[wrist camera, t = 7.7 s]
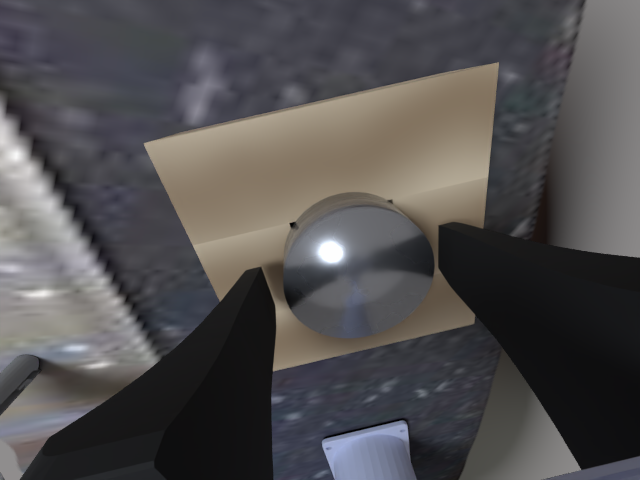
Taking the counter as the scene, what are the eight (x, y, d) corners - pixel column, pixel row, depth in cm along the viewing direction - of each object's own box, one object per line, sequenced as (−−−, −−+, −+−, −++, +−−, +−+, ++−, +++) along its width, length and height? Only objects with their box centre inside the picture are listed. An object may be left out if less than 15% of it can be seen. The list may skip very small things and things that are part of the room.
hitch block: (437, 280, 18) (474, 323, 15) (261, 321, 18) (255, 375, 14) (438, 73, 12) (498, 62, 9) (184, 131, 12) (143, 143, 9)
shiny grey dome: (389, 254, 16) (434, 320, 11) (297, 275, 16) (303, 351, 11) (380, 160, 13) (434, 192, 9) (271, 185, 13) (263, 232, 9)
